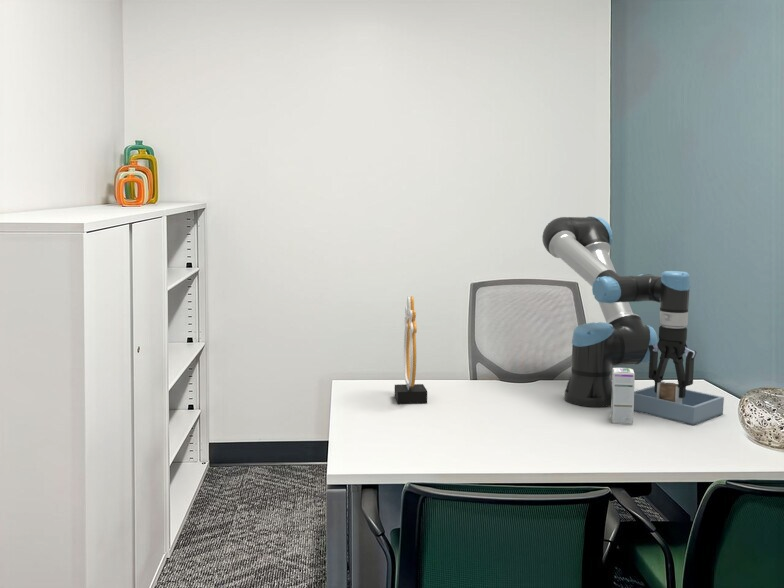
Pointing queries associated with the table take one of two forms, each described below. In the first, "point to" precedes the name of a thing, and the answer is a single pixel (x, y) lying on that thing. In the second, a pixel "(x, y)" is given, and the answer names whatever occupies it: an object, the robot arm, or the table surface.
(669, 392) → the walnut cylinder
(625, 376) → the syrup box
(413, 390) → the abstract figure sculpture
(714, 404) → the tote
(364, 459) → the table surface
